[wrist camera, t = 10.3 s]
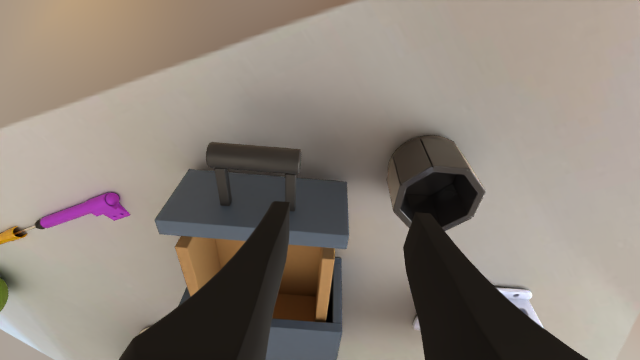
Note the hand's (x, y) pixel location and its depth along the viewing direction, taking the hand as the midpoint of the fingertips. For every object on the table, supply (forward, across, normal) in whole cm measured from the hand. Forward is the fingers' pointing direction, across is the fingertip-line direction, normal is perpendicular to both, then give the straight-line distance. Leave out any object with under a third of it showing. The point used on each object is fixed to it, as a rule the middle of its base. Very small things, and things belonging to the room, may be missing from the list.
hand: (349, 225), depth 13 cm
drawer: (+9, +5, +9) cm, 13 cm away
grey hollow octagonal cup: (+9, -6, +3) cm, 11 cm away
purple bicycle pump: (+10, +24, +12) cm, 29 cm away
